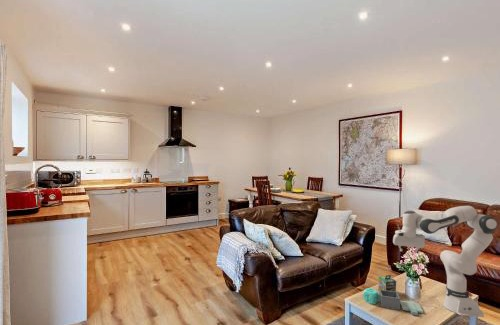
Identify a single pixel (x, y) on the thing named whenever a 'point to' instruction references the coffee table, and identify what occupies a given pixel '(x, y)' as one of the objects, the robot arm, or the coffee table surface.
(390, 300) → the tub
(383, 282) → the chalk box
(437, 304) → the coffee table surface
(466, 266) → the robot arm
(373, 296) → the decorative dice
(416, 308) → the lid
